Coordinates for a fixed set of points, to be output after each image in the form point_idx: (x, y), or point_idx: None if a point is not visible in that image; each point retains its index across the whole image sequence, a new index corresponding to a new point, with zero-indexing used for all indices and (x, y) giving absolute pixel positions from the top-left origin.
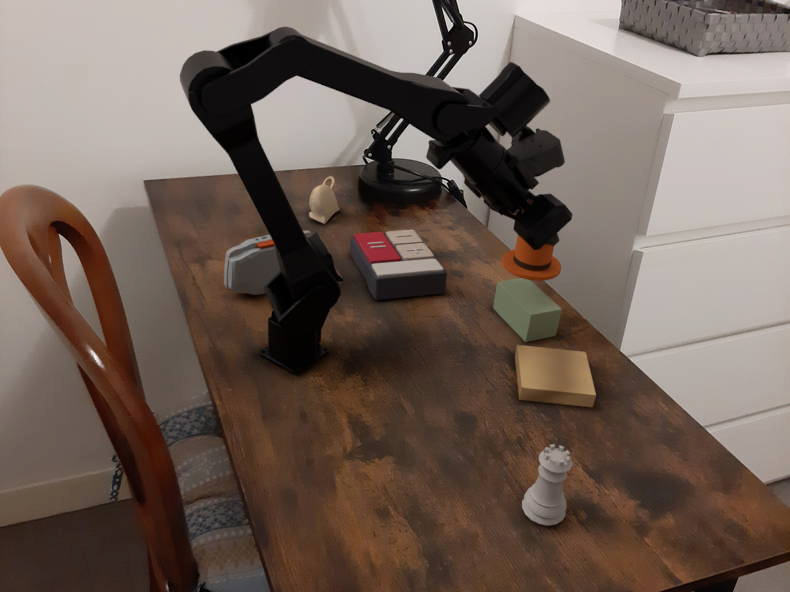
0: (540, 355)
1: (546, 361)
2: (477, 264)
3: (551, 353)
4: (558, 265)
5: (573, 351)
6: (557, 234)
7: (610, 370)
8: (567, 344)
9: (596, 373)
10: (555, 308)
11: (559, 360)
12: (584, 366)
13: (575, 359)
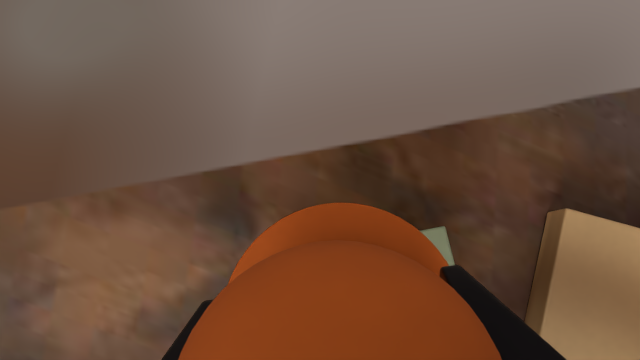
0: (582, 342)
1: (609, 336)
2: (52, 319)
3: (574, 307)
4: (376, 219)
5: (564, 241)
6: (507, 307)
7: (573, 154)
8: (462, 215)
9: (585, 193)
10: (442, 246)
11: (607, 298)
12: (634, 239)
13: (601, 250)
